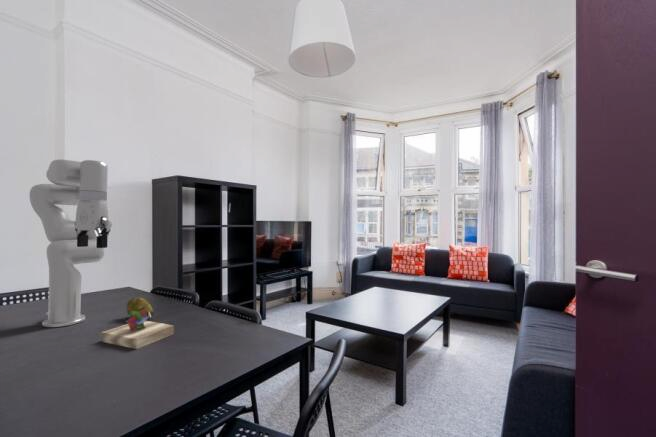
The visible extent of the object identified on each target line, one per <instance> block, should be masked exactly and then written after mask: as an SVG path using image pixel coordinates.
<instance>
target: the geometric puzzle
mask: <svg viewBox="0 0 656 437" xmlns="http://www.w3.org/2000/svg"><path fill="white" fill-rule="evenodd" d="M146 310H147V309H146ZM146 310H145V308H143V310H141V311H140V312H138V311H133V310H131V312H132V315H133V316H132V317H131V316H130V313H129V314H128V317H130V318H127V319H126V321H125V323H126V324H128V325H129V326H128V327H130V330H131V331H132V330H133V329H135V328H136V327H141V328H144V329H146V328H145V326H144V323H143V322H144V321H146V320H147V319H148V318H151V313H150V312H149V311H148V310H147V311H148V312H147V313H148V315H147V313H146ZM151 319H152V318H151ZM148 321H149V320H147V322H148ZM147 324H148V323H147ZM147 324H146V325H147Z"/></svg>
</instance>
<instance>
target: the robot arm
mask: <svg viewBox="0 0 656 437" xmlns="http://www.w3.org/2000/svg"><path fill="white" fill-rule="evenodd" d="M46 178H47V180H48V181H49V182H50V183H39V184H34V186H32V187H31V188H30V190H29V196H28V197H29V201H30V205H31V207H32V209H33V211H34V212H35V214H36V215H37V216H38V217H39V219H40V220H41V223H42V227H43V229H44V233H45V237H46V239H47V240H48V241H49V244H48V246H46V258H47V263H48V264H47V265H48V305H47V306H48V311H46V312H45V315H46V316H47V319H45V320H43V321H42V323H41V326H42V327H44V328H58V327H59V328H60V327H65V326H66V327H67V326H71V325H76V324H79V323H82V322H83V321H85V320H86V315H84V314H81V306H82V305H81V304H82V303H81V302H82V301H81V300H82V273H81V272H80V270H78V269H77V268H76V267H75V265H81V264H90V263H97V262H100V261H101V260H103V258H104V255H105V248H108V237H109V235H110V232H111V229H112V227H113V226H112V225H113V223H112V222H111V221H110V220H109V209H108V164H107V163H106V162H103V161H99V160H92V159H86V160H83V161H76V160H70V159H69V160H68V159H54V160H52V161H51V162H50V164H49V166H48V169H47V170H46ZM57 205H58V206H57ZM59 205H61V206H77V207H76V213H75V220H70V217H69V215H68V213H67V211H65V210H64V209H63V208H62V207H60V206H59Z"/></svg>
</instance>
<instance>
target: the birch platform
mask: <svg viewBox="0 0 656 437" xmlns="http://www.w3.org/2000/svg"><path fill="white" fill-rule="evenodd" d="M147 321H148V322H147ZM147 321H144V322H143V323H144V326H145V328H146V329H144V328H141V327H136V328H135V329H133V330H132V331H131V330H130V327H128V326H129V325H128V323H126V324H123V325H119V326H118V327H114V328H111V329H108V330H103V331H101V338H100V340H101V343H105V344H111V345H116V346H120V347H125V348H129V349H135V350H138V349H140V348H143V347H146V346H148V345H150V344H152V343H155V342H158V341H160V340H162V339H164V338H168V337H171V336H172V335H174V332H175V331H174V330H175V325H173V324H168V323H161V322H155V321H149V320H147ZM147 323H148V324H147ZM146 324H147V325H146Z"/></svg>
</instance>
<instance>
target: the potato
mask: <svg viewBox="0 0 656 437" xmlns="http://www.w3.org/2000/svg"><path fill="white" fill-rule="evenodd" d="M143 308H145V310H146V309H147V310H148V311H149V312H150V313H151V318H148V319H147V320H146V321H149V320H151V319H152V318H153V316H154V314H155V311H154V309H153V307H152V306H151V303H150V302H149V301H147V300H146V299H145V298H143V297H134V298H132V299H130V300H128V302H127V303H126V308H125V309H126V312H127V314H128V315H129V316H130V318H131V317H132V316H133V315H132V312H131V310H133V311H138V312H140V311H141V310H143ZM147 310H146V313H147V312H148V311H147ZM129 313H130V314H129ZM147 315H148V313H147Z"/></svg>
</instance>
